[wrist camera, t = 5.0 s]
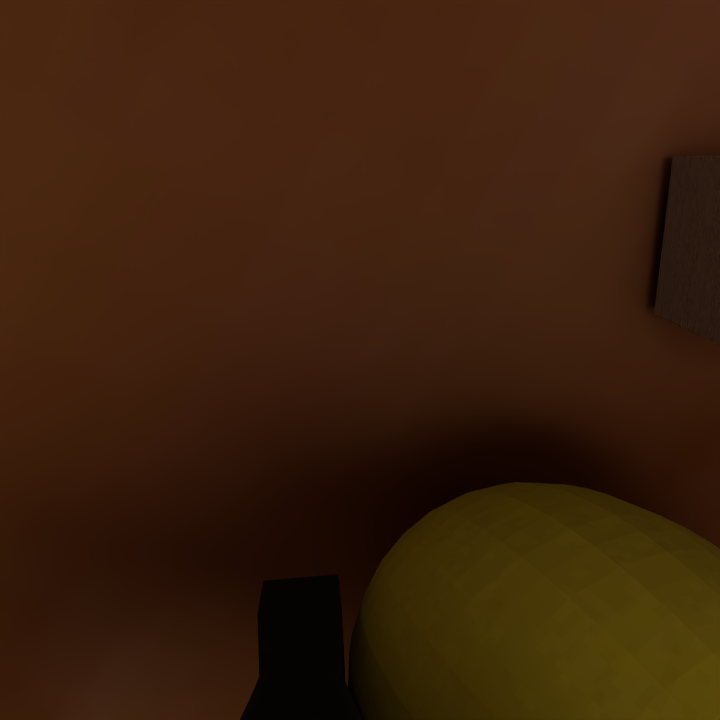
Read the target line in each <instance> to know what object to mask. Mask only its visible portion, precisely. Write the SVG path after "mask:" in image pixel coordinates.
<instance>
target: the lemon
mask: <svg viewBox="0 0 720 720" xmlns="http://www.w3.org/2000/svg"><path fill="white" fill-rule="evenodd" d="M348 689H349V691H350V693H351V695H352V698H353V700H354V702H355V704H356V706H357V708H358V710H359V712H360V714H361V716H362V718H363V720H720V548H718V547H717V546H715V545H714V544H712V543H711V542H709V541H707V540H706V539H704V538H702V537H701V536H699V535H697V534H695V533H694V532H692V531H690V530H689V529H687V528H685V527H683V526H681V525H679V524H677V523H675V522H673V521H671V520H669V519H667V518H665V517H663V516H660V515H658V514H655V513H653V512H650V511H648V510H645V509H643V508H641V507H638V506H636V505H633V504H631V503H628V502H626V501H623V500H620V499H618V498H615V497H613V496H610V495H608V494H605V493H601V492H598V491H594V490H591V489H588V488H583V487H578V486H572V485H567V484H547V483H524V482H513V483H507V484H501V485H496V486H492V487H488V488H484V489H480V490H476V491H472V492H468V493H466V494H463V495H461V496H459V497H457V498H455V499H453V500H451V501H450V502H448V503H446V504H444V505H442V506H440V507H438V508H436V509H434V510H432V511H430V512H429V513H428V514H427V515H425V516H424V517H423V518H422V519H421V520H419V521H418V522H417V523H416V524H414V525H413V526H412V527H411V528H410V529H408V530H407V531H406V532H405V533H404V534H403V535H402V536H401V537H400V539H399V540H398V541H397V542H396V543H395V545H394V546H393V547H392V548H391V550H390V551H389V552H388V553H387V554H386V556H385V557H384V558H383V559H382V561H381V563H380V565H379V566H378V568H377V570H376V572H375V574H374V576H373V578H372V580H371V582H370V584H369V585H368V587H367V589H366V591H365V594H364V596H363V599H362V602H361V605H360V609H359V612H358V616H357V619H356V623H355V626H354V630H353V633H352V637H351V644H350V652H349V677H348Z"/></svg>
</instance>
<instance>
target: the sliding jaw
mask: <svg viewBox="0 0 720 720" xmlns="http://www.w3.org/2000/svg"><path fill="white" fill-rule="evenodd" d="M654 314H656V315H658V316H660V317H662V318H664V319H666V320H668V321H671V322H673V323H675V324H677V325H679V326H681V327H683V328H685V329H687V330H689V331H691V332H693V333H696V334H698V335H700V336H702V337H704V338H706V339H708V340H710V341H712V342H714V343H716V344H718V345H720V155H705V156H673V160H672V168H671V176H670V185H669V193H668V202H667V210H666V218H665V227H664V235H663V244H662V252H661V261H660V269H659V277H658V286H657V294H656V303H655V311H654Z"/></svg>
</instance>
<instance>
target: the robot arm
mask: <svg viewBox="0 0 720 720" xmlns="http://www.w3.org/2000/svg"><path fill="white" fill-rule="evenodd" d="M258 644H259V679H258V681H257V683H256V686H255V688H254V691H253V693H252V695H251V698H250V700H249V702H248V704H247V706H246V708H245V710H244V713H243V715H242V717H241V719H240V720H363V718H362V716H361V714H360V712H359V710H358V708H357V706H356V704H355V702H354V700H353V698H352V695H351V693H350V691H349V689H348V687H347V684H346V682H345V665H344V645H343V626H342V607H341V598H340V589H339V580H338V574H337V575H326V576H314V577H303V578H291V579H280V580H268V581H263V586H262V592H261V597H260V603H259V610H258Z"/></svg>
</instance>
